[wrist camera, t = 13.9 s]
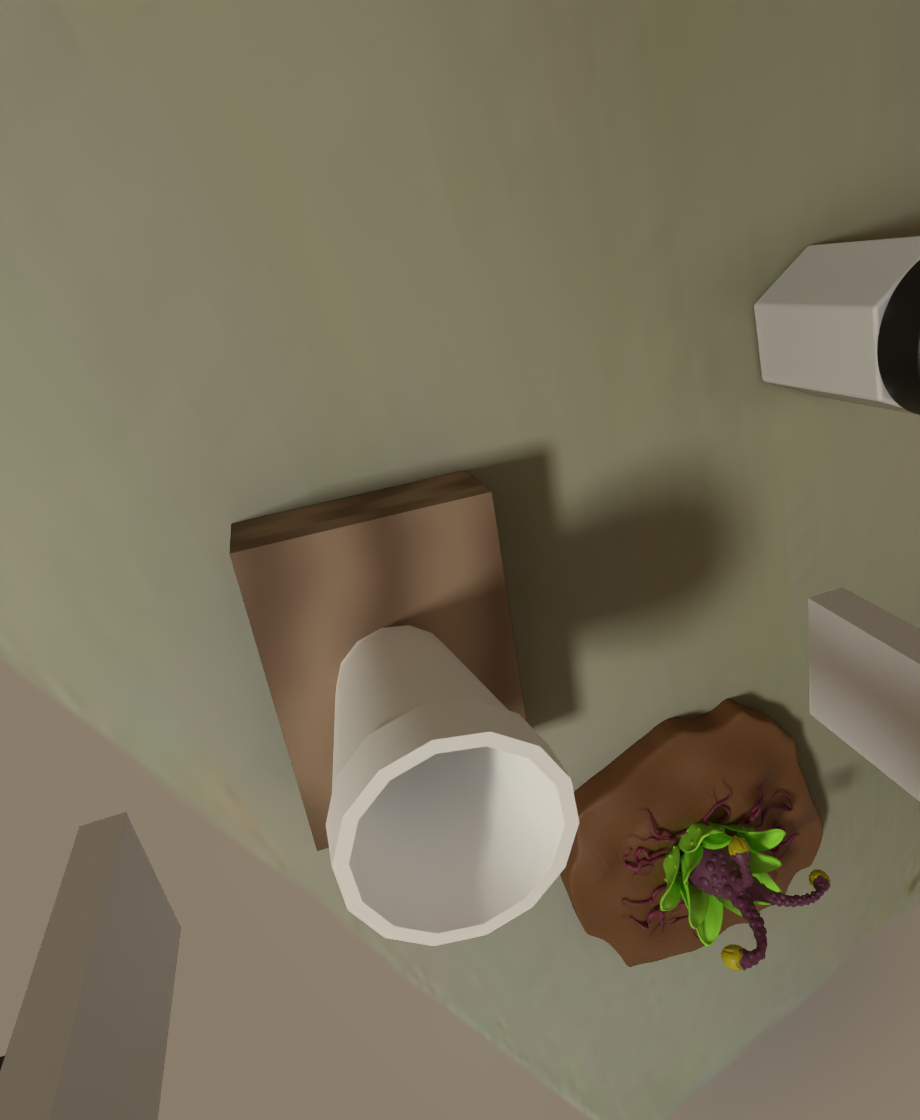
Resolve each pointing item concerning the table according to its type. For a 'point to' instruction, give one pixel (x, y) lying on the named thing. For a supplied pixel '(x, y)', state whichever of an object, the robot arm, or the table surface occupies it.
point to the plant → (693, 837)
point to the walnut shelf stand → (370, 601)
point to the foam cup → (439, 795)
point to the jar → (846, 324)
